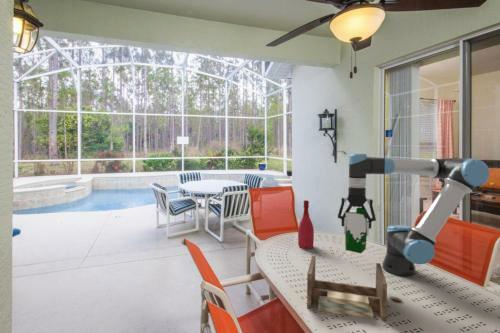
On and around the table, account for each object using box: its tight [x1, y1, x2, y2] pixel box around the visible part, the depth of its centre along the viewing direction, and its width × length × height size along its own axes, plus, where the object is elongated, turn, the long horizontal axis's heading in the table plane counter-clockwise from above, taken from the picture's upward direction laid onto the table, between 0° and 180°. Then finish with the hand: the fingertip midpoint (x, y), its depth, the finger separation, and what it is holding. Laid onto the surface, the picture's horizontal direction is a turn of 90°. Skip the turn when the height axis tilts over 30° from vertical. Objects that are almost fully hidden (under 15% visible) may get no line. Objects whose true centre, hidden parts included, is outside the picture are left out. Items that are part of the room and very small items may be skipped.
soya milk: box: [344, 207, 368, 254], centre depth 132 cm, size 9×9×20 cm
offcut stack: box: [317, 290, 374, 319], centre depth 109 cm, size 20×6×6 cm, turn 75°
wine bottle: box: [297, 199, 315, 250], centre depth 179 cm, size 10×10×30 cm
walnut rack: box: [306, 255, 388, 322], centre depth 116 cm, size 28×19×14 cm, turn 72°
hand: (355, 234), depth 132 cm, fingers closed on soya milk, 9 cm apart
